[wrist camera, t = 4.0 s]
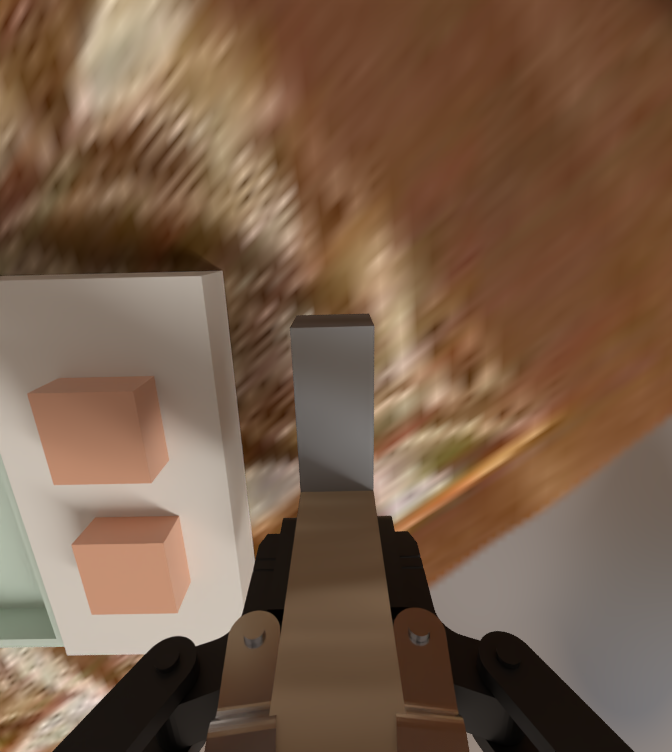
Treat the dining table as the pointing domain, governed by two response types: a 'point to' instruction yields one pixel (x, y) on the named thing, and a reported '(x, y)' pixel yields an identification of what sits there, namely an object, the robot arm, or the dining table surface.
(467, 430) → the dining table surface
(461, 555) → the dining table surface
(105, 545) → the tile
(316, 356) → the scraper
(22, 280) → the stone plate
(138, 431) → the tile
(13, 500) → the tray
